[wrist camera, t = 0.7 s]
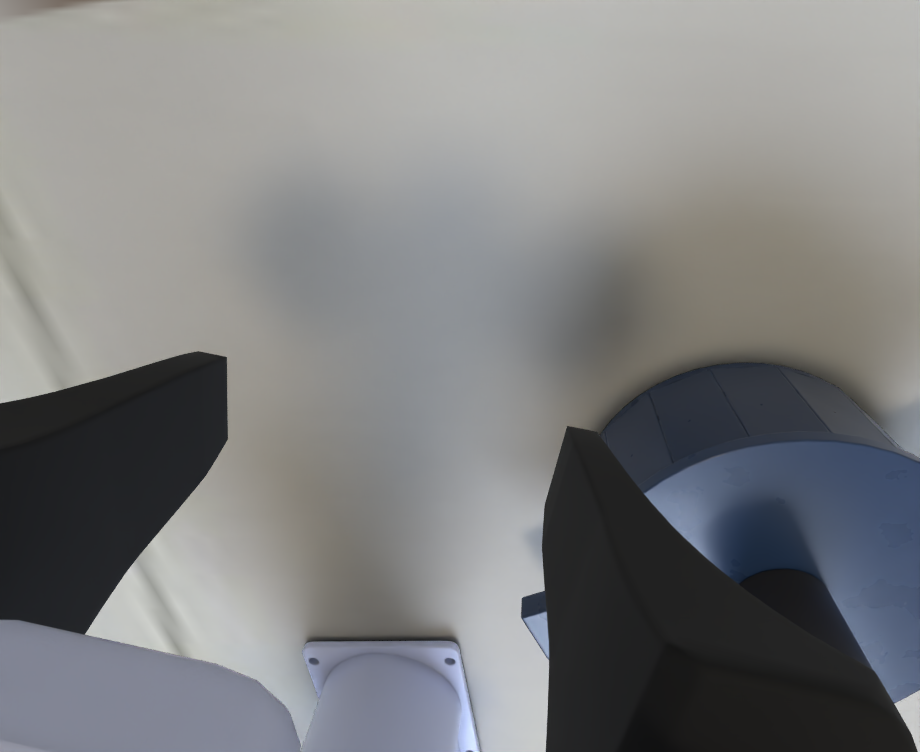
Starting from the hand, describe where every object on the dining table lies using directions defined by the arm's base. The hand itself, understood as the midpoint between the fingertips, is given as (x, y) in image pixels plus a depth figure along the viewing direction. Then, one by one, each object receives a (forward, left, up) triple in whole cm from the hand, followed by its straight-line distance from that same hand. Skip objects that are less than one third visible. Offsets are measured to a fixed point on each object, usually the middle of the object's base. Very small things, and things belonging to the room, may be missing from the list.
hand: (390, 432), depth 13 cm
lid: (-9, -10, -5) cm, 14 cm away
